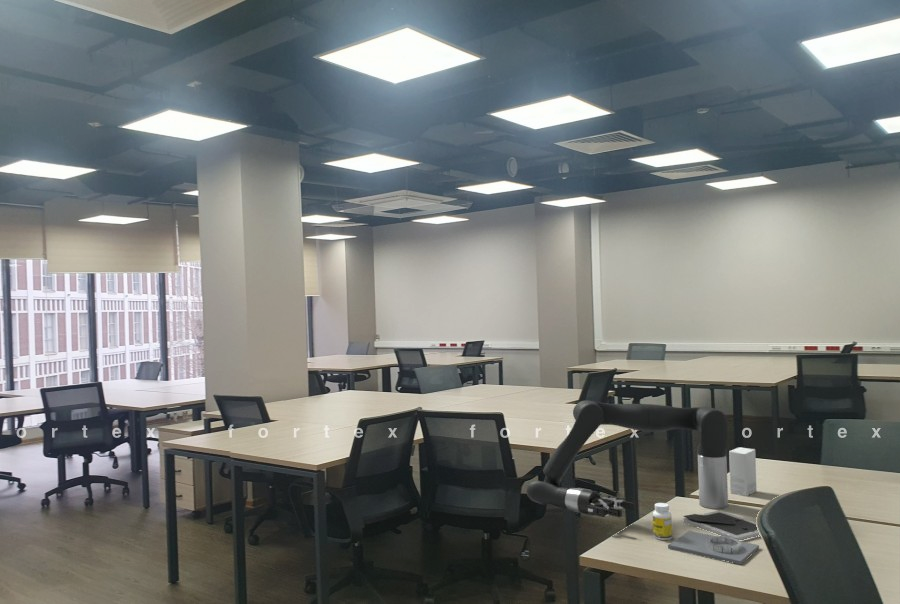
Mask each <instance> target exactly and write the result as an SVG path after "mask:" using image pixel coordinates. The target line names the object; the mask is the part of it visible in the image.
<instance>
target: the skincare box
mask: <svg viewBox="0 0 900 604" xmlns="http://www.w3.org/2000/svg"><path fill="white" fill-rule="evenodd" d="M728 455H729V456H728V458H729V462H728V463H729V491H730V492H731V493H730V494H733V493H734V494H733V495H738V494H740V495H739V496H743V495H746V496H745V497H748V496H750V495H752V494H755V493H757V465H756V464H757V463H756V461H757V460H756V449H755V448H748V447H747V448H746V447H741V446H740V447H736V448H734V449H732V450H729V453H728ZM751 493H752V494H751ZM749 494H750V495H749ZM747 495H748V496H747Z"/></svg>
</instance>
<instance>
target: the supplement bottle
mask: <svg viewBox="0 0 900 604" xmlns="http://www.w3.org/2000/svg"><path fill="white" fill-rule="evenodd" d="M669 509H670V507H669V504H668V503H665V502H656V503H655V504H654V511H653V512H652V530H653V531H652V533H653V537H654V539H656V540H659V541H668V540H669V541H670V540H671V539H672V538H673V520H672V519H673V518H672V517H673V516H672V513H671V511H669Z"/></svg>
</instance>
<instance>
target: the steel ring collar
mask: <svg viewBox="0 0 900 604" xmlns="http://www.w3.org/2000/svg"><path fill="white" fill-rule="evenodd" d="M713 536H714V537H709V538H708V539H706V545H707V548H709V549H711V550H713V551H716V552H720V553H722V552H723V553H737V552H740V551H741V550H742V544H741V542H740V541H739V540H737V539H734V538H730V537H724V536H718V535H713ZM713 543H728V544H732V545H734V546H730V547H729V546H719V545H715V544H713Z"/></svg>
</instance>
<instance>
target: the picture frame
mask: <svg viewBox="0 0 900 604" xmlns="http://www.w3.org/2000/svg"><path fill="white" fill-rule="evenodd" d="M682 520H683V523H684V524H686V525H688V524H689V526H691V525H693V526H692V527H694V526H696V527H699V528H701V529H700V530H702V529H704V530H707V531H710V532H713V533H716V534H718V535H721V536H724V537H730V538H734V539H737V540H744V539H747V538H751V537H756V536H757V537H758V535H759V532H758V530H757V527H756V523H757V522H756V521H753V520H750V519H747V518H744V517H741V516H737V515H735V514H731V513H730V512H729V513H728V512H726V511H723V510H720V509H719V510H715V511H709V512H706V513H702V514H699V513H698V514H696V513H693V514H692V513H691V514H686V515H683V519H682ZM696 527H695V528H696ZM699 528H698V529H699ZM704 530H703V531H704ZM707 531H706V532H707ZM710 532H709V533H710ZM713 533H712V534H713ZM718 535H717V536H718ZM759 536H760V535H759ZM758 538H759V537H758Z"/></svg>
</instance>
